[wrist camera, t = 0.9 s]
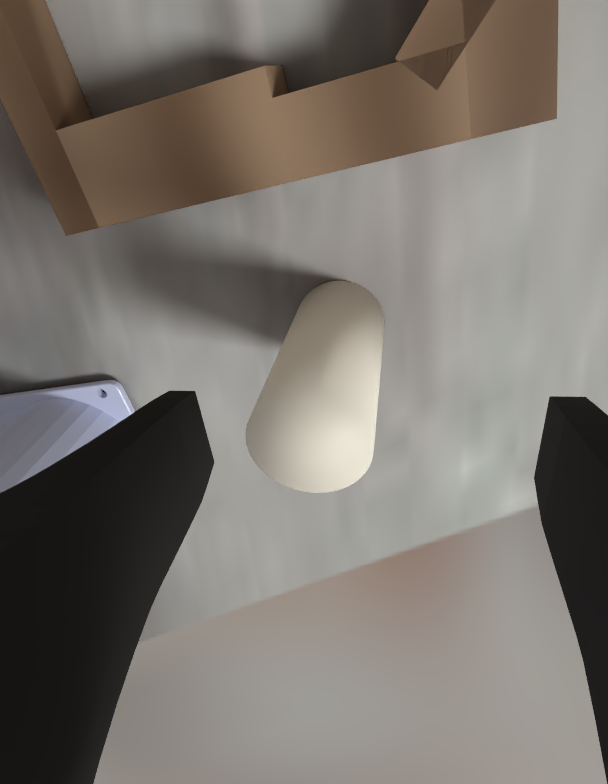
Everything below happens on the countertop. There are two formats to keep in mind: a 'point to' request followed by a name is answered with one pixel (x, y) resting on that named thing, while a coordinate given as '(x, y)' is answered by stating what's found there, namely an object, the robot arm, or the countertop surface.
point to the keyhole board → (271, 112)
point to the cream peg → (322, 393)
